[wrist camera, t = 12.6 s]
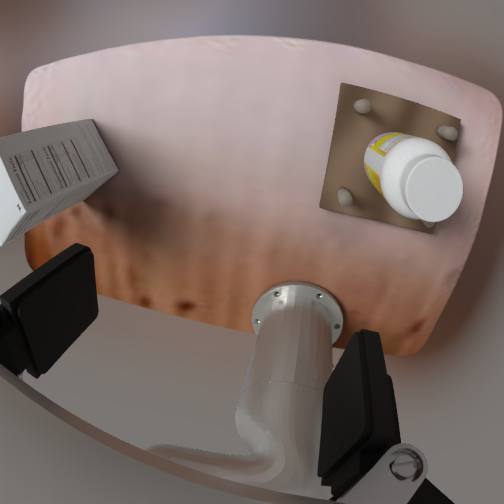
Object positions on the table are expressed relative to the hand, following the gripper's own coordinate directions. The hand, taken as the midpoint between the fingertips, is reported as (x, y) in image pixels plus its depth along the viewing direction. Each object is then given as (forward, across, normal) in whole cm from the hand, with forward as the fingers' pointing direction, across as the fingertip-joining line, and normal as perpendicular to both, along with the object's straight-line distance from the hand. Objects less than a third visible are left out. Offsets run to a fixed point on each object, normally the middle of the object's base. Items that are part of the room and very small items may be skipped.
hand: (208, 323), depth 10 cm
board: (+27, -11, -5) cm, 29 cm away
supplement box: (+27, +28, +4) cm, 39 cm away
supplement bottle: (+25, -11, -5) cm, 28 cm away
